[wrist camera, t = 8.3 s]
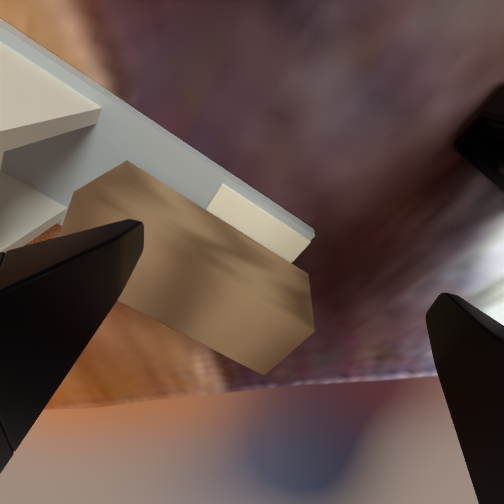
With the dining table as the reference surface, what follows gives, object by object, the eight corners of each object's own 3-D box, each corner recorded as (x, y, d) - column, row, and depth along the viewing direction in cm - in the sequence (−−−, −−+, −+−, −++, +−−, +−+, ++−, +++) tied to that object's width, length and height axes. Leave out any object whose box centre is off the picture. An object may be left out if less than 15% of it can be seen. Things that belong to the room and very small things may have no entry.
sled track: (313, 229, 21) (329, 320, 14) (238, 313, 26) (218, 415, 19) (-98, -48, 16) (-470, -158, 8) (-99, 126, 20) (-332, 162, 13)
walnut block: (308, 274, 22) (314, 331, 17) (268, 315, 24) (263, 375, 19) (126, 160, 19) (73, 191, 14) (101, 220, 21) (48, 264, 16)
